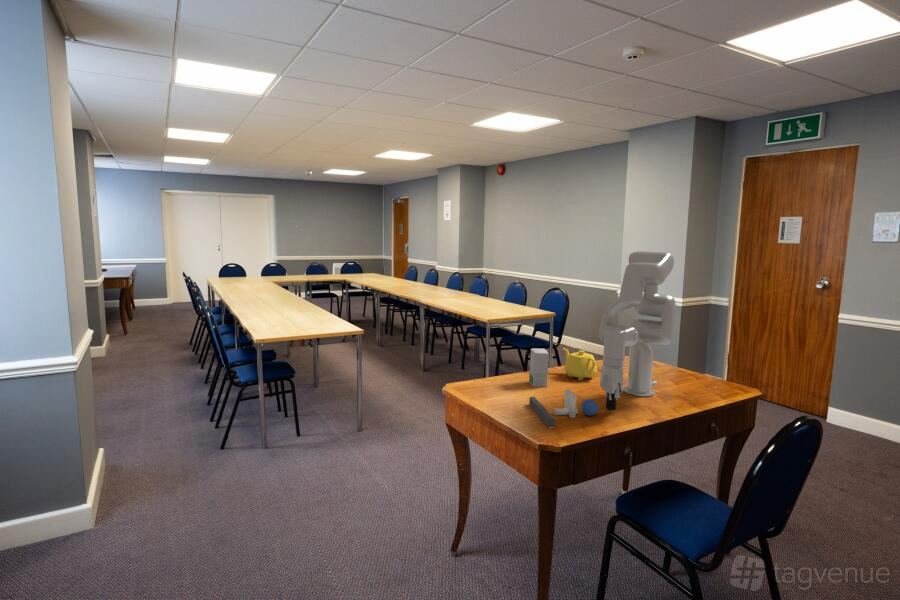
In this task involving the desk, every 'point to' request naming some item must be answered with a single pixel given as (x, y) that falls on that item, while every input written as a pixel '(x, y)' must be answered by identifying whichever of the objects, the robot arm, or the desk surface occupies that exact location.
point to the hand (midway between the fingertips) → (610, 409)
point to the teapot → (580, 364)
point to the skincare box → (538, 367)
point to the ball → (589, 407)
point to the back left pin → (572, 405)
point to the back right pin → (567, 398)
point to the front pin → (563, 411)
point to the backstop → (542, 412)
